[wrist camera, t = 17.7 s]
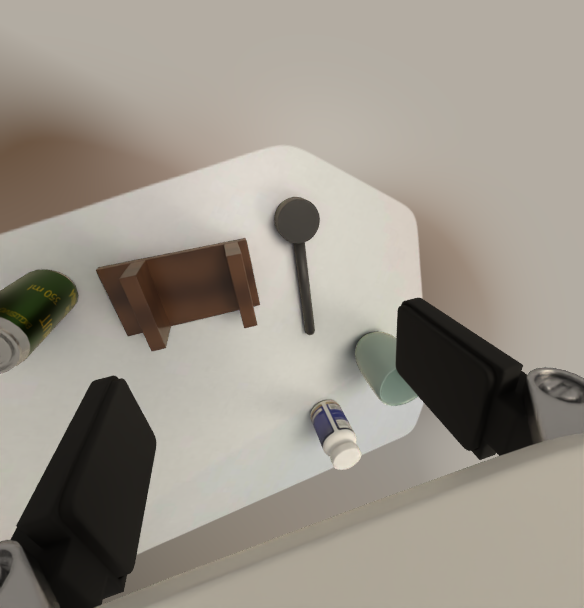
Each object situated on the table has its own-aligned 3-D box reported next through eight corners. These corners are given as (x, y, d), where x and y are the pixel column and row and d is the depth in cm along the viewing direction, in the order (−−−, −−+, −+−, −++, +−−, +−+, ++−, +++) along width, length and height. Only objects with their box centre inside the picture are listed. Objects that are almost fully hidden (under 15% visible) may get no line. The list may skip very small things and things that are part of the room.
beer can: (17, 300, 33) (-73, 366, 22) (30, 259, 31) (-60, 309, 21) (72, 317, 35) (14, 384, 25) (86, 279, 33) (31, 333, 23)
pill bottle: (314, 426, 54) (334, 477, 45) (305, 407, 51) (325, 457, 43) (342, 414, 55) (367, 462, 46) (335, 393, 52) (360, 440, 43)
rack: (98, 267, 33) (77, 287, 28) (245, 237, 36) (251, 251, 31) (129, 332, 37) (116, 360, 32) (259, 301, 40) (266, 323, 35)
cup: (387, 359, 51) (424, 400, 43) (346, 367, 50) (375, 411, 41) (393, 321, 48) (434, 357, 39) (349, 328, 46) (382, 367, 37)
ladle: (292, 335, 44) (296, 343, 42) (271, 201, 35) (274, 203, 33) (325, 327, 45) (329, 334, 43) (312, 193, 36) (317, 195, 34)
